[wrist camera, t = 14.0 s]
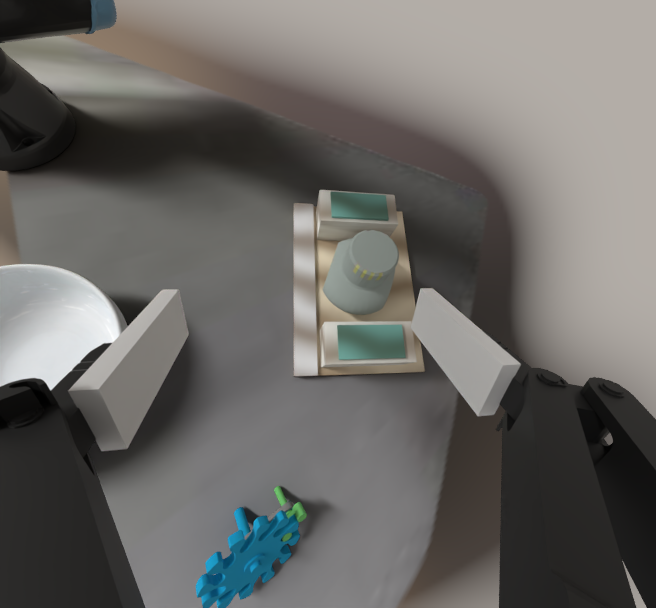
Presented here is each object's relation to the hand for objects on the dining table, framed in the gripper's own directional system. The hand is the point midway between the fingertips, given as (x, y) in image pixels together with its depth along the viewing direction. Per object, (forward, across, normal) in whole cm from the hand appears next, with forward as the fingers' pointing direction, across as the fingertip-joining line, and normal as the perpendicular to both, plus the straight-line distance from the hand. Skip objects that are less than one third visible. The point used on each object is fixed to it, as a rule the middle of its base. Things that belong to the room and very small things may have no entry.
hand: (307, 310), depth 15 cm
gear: (+2, -4, -30) cm, 30 cm away
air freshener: (+22, +9, -8) cm, 25 cm away
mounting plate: (+22, +9, -9) cm, 26 cm away
